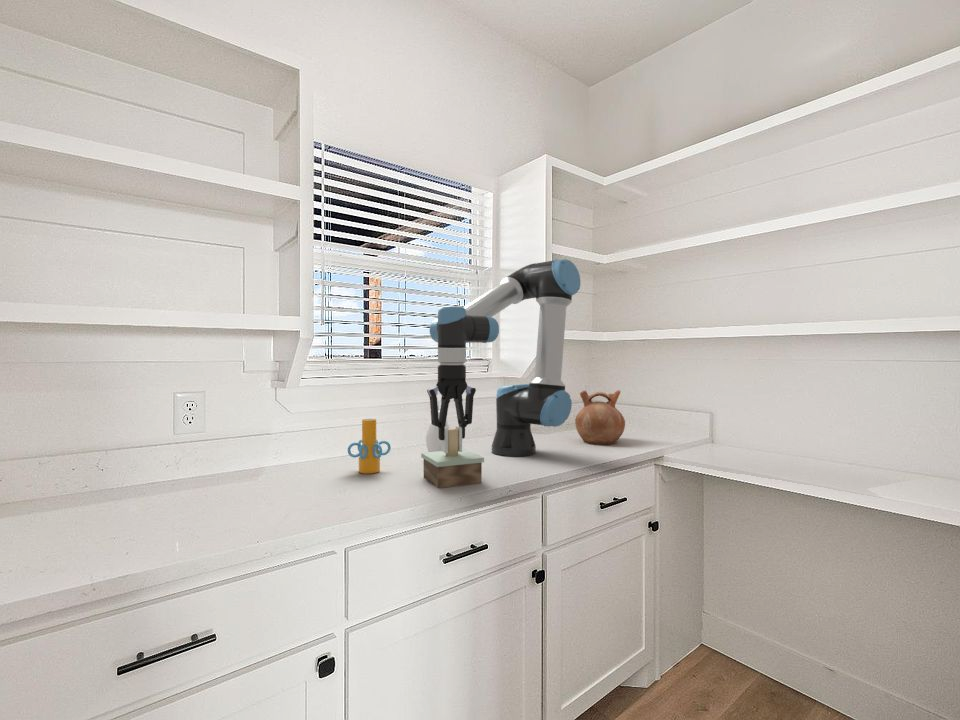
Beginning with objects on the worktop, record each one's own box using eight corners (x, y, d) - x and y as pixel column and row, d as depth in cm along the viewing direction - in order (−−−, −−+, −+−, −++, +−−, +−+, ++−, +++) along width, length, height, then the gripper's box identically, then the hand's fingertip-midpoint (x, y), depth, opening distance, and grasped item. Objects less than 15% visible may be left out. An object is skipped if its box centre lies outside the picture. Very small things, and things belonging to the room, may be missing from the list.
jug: (623, 439, 199) (623, 388, 198) (626, 447, 181) (626, 392, 181) (576, 437, 203) (576, 387, 202) (574, 445, 185) (574, 391, 185)
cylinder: (378, 477, 138) (377, 423, 138) (342, 475, 140) (342, 422, 140) (394, 467, 150) (394, 417, 150) (361, 466, 152) (361, 416, 152)
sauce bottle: (441, 462, 157) (441, 404, 157) (421, 459, 161) (421, 403, 161) (455, 457, 164) (455, 402, 164) (435, 455, 168) (435, 401, 167)
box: (463, 472, 143) (463, 453, 143) (481, 482, 132) (481, 462, 132) (423, 477, 138) (423, 457, 138) (438, 488, 127) (438, 466, 127)
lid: (464, 453, 144) (464, 424, 144) (484, 462, 132) (484, 431, 132) (421, 457, 139) (421, 427, 138) (437, 467, 127) (437, 434, 127)
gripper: (474, 363, 142) (474, 446, 142) (418, 364, 135) (418, 451, 135) (485, 364, 135) (485, 451, 135) (427, 364, 128) (427, 456, 128)
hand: (451, 451), depth 135 cm, fingers closed on lid, 3 cm apart
